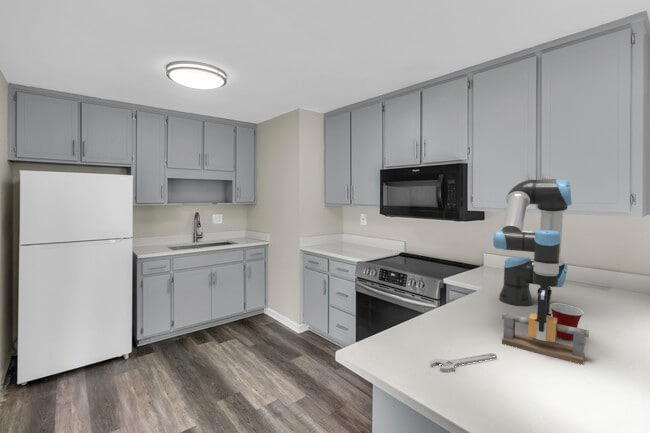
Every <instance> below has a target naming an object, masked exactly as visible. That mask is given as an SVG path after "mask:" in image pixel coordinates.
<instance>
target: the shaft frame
mask: <svg viewBox="0 0 650 433" xmlns="http://www.w3.org/2000/svg"><path fill="white" fill-rule="evenodd" d="M501 319H502V320H503V336H502V339H501V344H502V345H505V344H506V345H505V346H508V345H509V346H508V347H512V346H513V347H514V348H516V347H517V348H516V349H521V350H525V351H528V352H533V353H536V354H540V355H543V356H547V357H551V358H554V359H555V358H556V359H558V358H559V360H562V359H563V361H567V362H570V361H571V362H570V363H574V364H578V363H579V365H581V364H583V365H584V360H585V355H584V354H585V343H586V342H585V340H586V339H585V338H588V339H589V336H590V330H588V329H584V328H579V327H577V328H575V327H569V326H565V325H560V324H556V331H559V332H564V333H569V334H573V335H574V336H573V340H572V346H570V345H567V344H566V345H565V344H563V343H562V344H561V343H559V342H552V341H547V340H546V341H543V340H539V339H536V338H535V337H531V336H528V335H524V334H520V333H516V323H517V324H518V323H519V324H524V325H528V326H529V317H525V316H521V315H516V314H512V313H506V312H502V314H501Z"/></svg>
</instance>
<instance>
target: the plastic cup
mask: <svg viewBox="0 0 650 433" xmlns="http://www.w3.org/2000/svg"><path fill="white" fill-rule="evenodd" d="M549 308H550V310H551V317H554V318H557V324H560V325H565V326H569V327H575V328H578V326H579V323H580V320H581V318H582V316H583V315H584V313H585V312H584V311H583V310H582V309H581V308H579V307H576V306H574V305H570V304H566V303H561V302H560V303H559V302H554V303H550V304H549ZM573 336H574V335H573V334H569V333H564V332H559V331H557V335H556V337H555V338H558V339H560V340H565V341H573Z"/></svg>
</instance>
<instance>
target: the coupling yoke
mask: <svg viewBox="0 0 650 433" xmlns="http://www.w3.org/2000/svg"><path fill="white" fill-rule="evenodd" d="M528 318H529V325H528V328H527V336H529V337H533V338H536V336H537V321H535V319H537V313H534V312H533V313H532V312H531V313H530V315H529V317H528ZM541 319H542V318H541ZM546 322H547V325H546V341H550V342H554V343H556V338H557V337H556V335H557V331H556V324H557V318H554V317H553V316H546Z"/></svg>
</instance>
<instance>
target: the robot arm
mask: <svg viewBox="0 0 650 433" xmlns="http://www.w3.org/2000/svg"><path fill="white" fill-rule="evenodd" d="M505 202H506V203H507V206H506V210H505V214H504V217H503V222H502V227H501V230H495V231H494V232H493V238H492V239H493V240H492V242H493V247H494V248H495V249H499V250H504V251H517V252H519V251H520V252H528V253H529V252H530V253H533V256H534V257H533V260H532V259H531V258H530V257H528V256H512V257H508V258H506V259H505V260H504V265H503V268H504V271H503V273H504V274H503V285H502V288H501V291H500V293H499V297H498V298H499V301H500V302H503V303H505V304H508V305H514V306H520V307H523V306H524V307H528V306H532V305H533V302H534V300H533V296H532V293H531V291H530V285H531V284H532V285H536V286H539V287H538V289H537V310H536V312H537V313H536V314H537V319H535V321H537V336H536V339H539V340H543V341H547V340H546V325H547V322H546V316H549V317H552V313H550V304H551V303H550V302H551V299H552V297H551V296H552V291H553V290H552V288H562V287H564V284H565V283H566V278H567V274H568V265H567V263H565V261H564V260H563V258H561V254H562V236H563V235H562V234H563V219H564V212H566V211H567V210H568V206H571V205H572V204H573V203H572V192H571V185H570V181H569V180H568V179H561V178H560V179H558V178H551V179H528V180H524V181H522V182H519V183H518V184H516V185H515V186H513V187H512V188H511V189H510V191H509V192H508V194H507V195H506V201H505ZM529 205H535V206H536V205H537V207H536V208H537V210H539V211H540V228H539V229H537V230H536V231H535V232H529V231H528V232H527V231H526V232H523V229H524V224H525V219H526V218H525V217H526V212H527V207H528V206H529ZM541 318H542V319H541Z"/></svg>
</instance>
